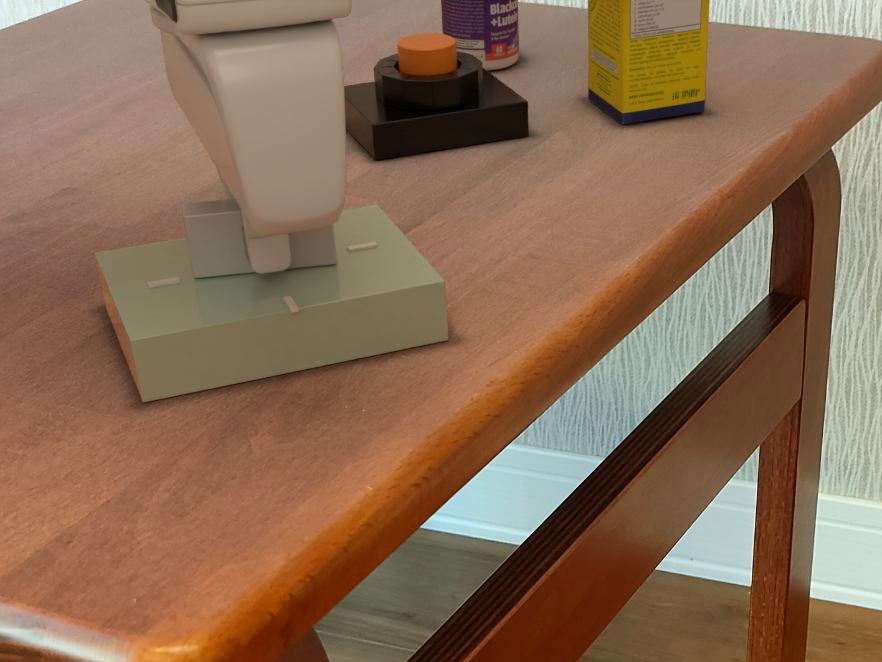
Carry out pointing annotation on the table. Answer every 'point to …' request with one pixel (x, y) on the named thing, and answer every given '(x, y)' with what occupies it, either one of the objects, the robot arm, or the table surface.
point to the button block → (432, 109)
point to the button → (427, 54)
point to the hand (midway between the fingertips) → (261, 254)
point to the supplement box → (647, 57)
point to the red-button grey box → (223, 247)
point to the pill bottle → (484, 29)
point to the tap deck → (270, 309)
